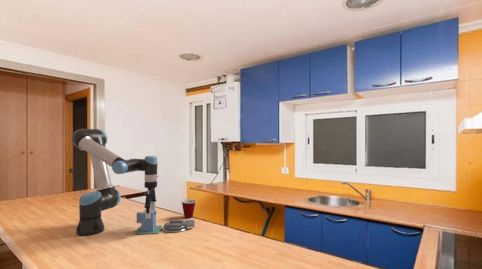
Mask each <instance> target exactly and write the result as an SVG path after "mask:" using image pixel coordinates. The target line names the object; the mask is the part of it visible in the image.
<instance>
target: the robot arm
mask: <svg viewBox="0 0 482 269" xmlns="http://www.w3.org/2000/svg"><path fill="white" fill-rule="evenodd" d="M71 142H72V145H74V147H76V148H77V149H79V150H80V151H85V152H87V153H88V154H89V157H90V161H91V166H92V171H93V174H94V178H95V183H96V189H95V190H94V191H88V192H86V193H83V194H81V195H80V196H79V201H78V204H79V205H78V207H79V221H78V224H77V226H76V230H75V234H76V235H77V236H81V237H83V236H84V237H86V236H87V237H89V236H94V235H97V234H100V233H103V232H104V231H105V225H104V222H103V219H102V212H103V211H106V210H109V209H113V208H115V207H117V206H118V205H119V204H120V202H121V198H122V197H121V196H122V195H121V193H120V191H119V190H118V189H116V186H115V185H113V184H112V181H111V177H110V173H109V172H110V171H109V168H108V166H109V167H111V170H112V171H113V173H114V174H117V175H124V174H127V173H132V172H144V188H145V189H147V190H146V193H145V203H144V207H143V208H144V209H145V210H146V219H150V218H151V210H156V202H157V197H156V188H157V187H158V181H157V180H158V177H159V175H158V164H159V163H158V157H157V156H155V155H146V156H145V157H144V158H135V157H134V158H129V159H124V158H122V157H121V156H119V155H118V154H116V153H114V152H113V151H111V150H109V149H108V148H107V147H106V144H107V143H108V135H107V133H106V132H105V131H104V130H102V129H98V128H94V129H93V128H80V129H77V130H76V131H74V132H73V134H72V135H71Z"/></svg>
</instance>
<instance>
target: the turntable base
mask: <svg viewBox="0 0 482 269" xmlns="http://www.w3.org/2000/svg"><path fill="white" fill-rule="evenodd" d="M162 227H163V228H162V231H163V232H164V233H168V234H170V233H171V234H177V233H182V232H185V231H186V230H188V229H189V227H186V228H184V229H182V230H177V231H169V230H165V229H164V226H162Z"/></svg>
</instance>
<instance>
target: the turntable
mask: <svg viewBox="0 0 482 269" xmlns="http://www.w3.org/2000/svg"><path fill="white" fill-rule="evenodd" d="M195 224H196V219H193V218H185V219H184V220H169V221H168V222H166V223H164V224H163V227H164V229H165V230H169V231H177V230H182V229H184V228H186V227H188V228H195V227H196V225H195Z"/></svg>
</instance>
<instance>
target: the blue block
mask: <svg viewBox="0 0 482 269" xmlns="http://www.w3.org/2000/svg"><path fill="white" fill-rule="evenodd" d="M136 224H140V226H141V232H146V231H154V229H155V228H156V226H157V210H156V209H155V210H151V218H150V219H146V209H145V210H143V211H138V212H136Z"/></svg>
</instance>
